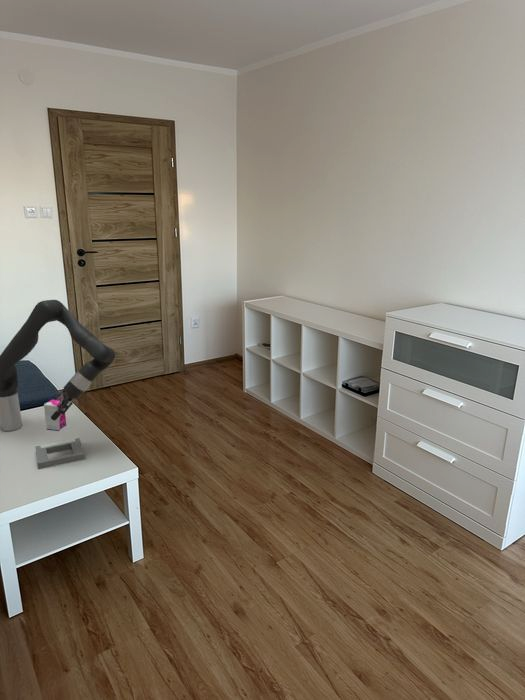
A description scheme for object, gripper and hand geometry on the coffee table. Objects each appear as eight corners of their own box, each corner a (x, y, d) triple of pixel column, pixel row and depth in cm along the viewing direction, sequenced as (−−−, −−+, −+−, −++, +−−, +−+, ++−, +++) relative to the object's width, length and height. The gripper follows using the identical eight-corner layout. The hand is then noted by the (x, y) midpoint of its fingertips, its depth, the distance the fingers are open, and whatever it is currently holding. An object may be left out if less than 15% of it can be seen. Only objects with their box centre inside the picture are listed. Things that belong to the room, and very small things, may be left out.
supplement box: (59, 431, 204) (55, 405, 200) (46, 430, 205) (42, 404, 202) (67, 425, 209) (64, 400, 206) (54, 424, 210) (51, 399, 207)
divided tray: (36, 451, 215) (35, 445, 214) (79, 442, 222) (79, 437, 222) (38, 469, 201) (37, 462, 200) (85, 459, 209) (84, 453, 208)
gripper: (68, 374, 210) (42, 404, 209) (72, 385, 198) (45, 417, 197) (83, 384, 214) (57, 413, 213) (87, 395, 202) (61, 427, 201)
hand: (51, 415), depth 205 cm, fingers closed on supplement box, 8 cm apart
